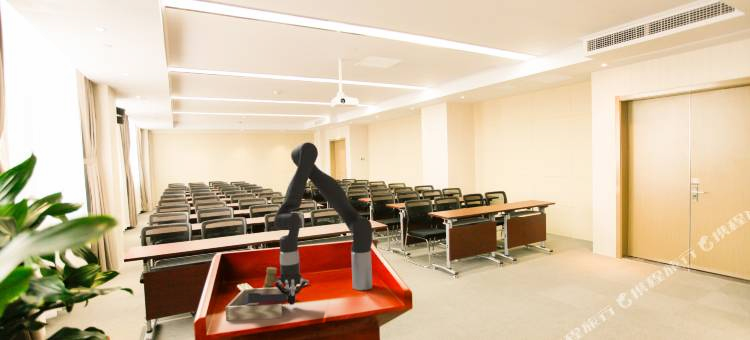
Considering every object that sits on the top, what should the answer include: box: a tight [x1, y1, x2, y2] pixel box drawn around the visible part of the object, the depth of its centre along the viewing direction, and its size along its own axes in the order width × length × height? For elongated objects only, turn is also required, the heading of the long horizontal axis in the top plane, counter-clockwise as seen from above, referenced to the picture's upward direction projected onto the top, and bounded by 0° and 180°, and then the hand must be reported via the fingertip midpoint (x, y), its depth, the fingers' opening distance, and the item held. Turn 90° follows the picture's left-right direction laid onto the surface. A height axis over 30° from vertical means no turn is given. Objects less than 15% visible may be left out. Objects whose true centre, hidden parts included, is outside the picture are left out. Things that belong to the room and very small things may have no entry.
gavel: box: [262, 266, 310, 288], centre depth 176 cm, size 21×5×10 cm, turn 114°
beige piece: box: [224, 286, 288, 321], centre depth 152 cm, size 21×20×5 cm
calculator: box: [241, 293, 288, 306], centre depth 148 cm, size 11×4×15 cm
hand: (292, 303), depth 152 cm, fingers closed
